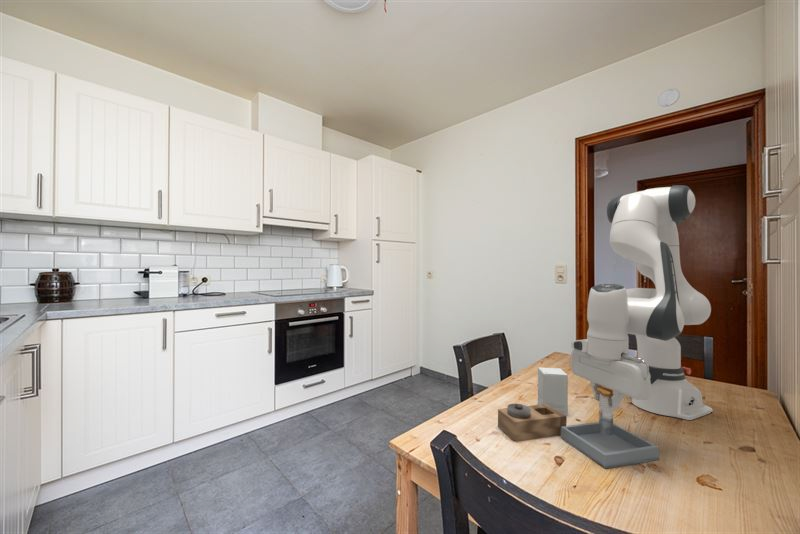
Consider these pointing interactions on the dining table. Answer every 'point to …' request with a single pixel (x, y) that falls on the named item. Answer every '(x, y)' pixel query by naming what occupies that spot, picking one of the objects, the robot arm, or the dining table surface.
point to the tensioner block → (530, 421)
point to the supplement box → (553, 388)
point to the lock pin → (605, 410)
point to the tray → (609, 445)
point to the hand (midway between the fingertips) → (606, 403)
